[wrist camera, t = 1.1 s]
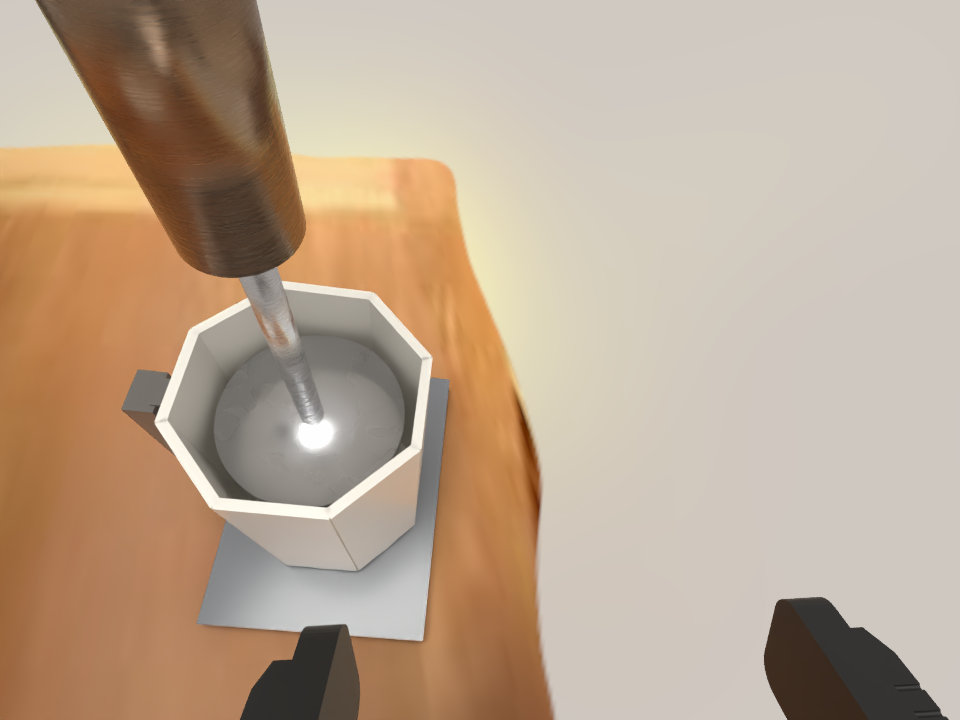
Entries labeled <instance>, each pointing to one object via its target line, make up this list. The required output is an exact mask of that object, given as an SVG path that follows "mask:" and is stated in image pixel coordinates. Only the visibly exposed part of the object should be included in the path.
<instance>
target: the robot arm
mask: <svg viewBox="0 0 960 720" xmlns="http://www.w3.org/2000/svg"><path fill="white" fill-rule="evenodd" d="M764 665H765V671H766V675H767V679H768V682H769V685H770V687H771V690H772V692H773V693H774V695H775V697H776V699H777V701H778V703H779V705H780V707H781V709H782V711H783V712H784V714H785V716H786V718H787V720H948V718H947V717H943V716H942V714H941V712H940V708H939V707H938V706H937V705H936V703H935V702H934V701H933V700H932V699H931V697H930V696H929V695H928V693H927V692H926V691H925V690H922V689H921V688H920V684H919V682H918V681H917V680H916V679H915V677H914V676H913V675H912V674H911V672H910V671H909V670H908V668H907V667H906V666H905V665H904V664H903V662H902V661H901V660H900V658H898V656H897V655H896V654H895V653H894V652H893V651H892V650H891V649H889V648H888V647H887V646H886V645H884V644H883V643H882V642H881V641H879V640H878V639H877V638H876V637H874V636H873V635H872V634H870V633H869V632H868V631H867V630H865V629H864V628H863V627H860V628H850V627H849V626H848V624H847V623H846V622H845V620H844V619H843V618H842V616H841V615H840V614H839V612H838V611H837V610H836V608H835V607H834V606H833V605H832V603H830V602H829V601H828V600H827V599H825V598H823V597H812V598H795V599H781V600H779V601H778V602H777V603H776V606H775V610H774V614H773V619H772V623H771V627H770V631H769V635H768V640H767V644H766V648H765V653H764ZM359 701H360V682H359V675H358V670H357V666H356V661H355V656H354V652H353V647H352V643H351V638H350V634H349V629H348V627H347V625H346V624H334V625H318V626H306V627H305V628H304V629H303V630H302V632H301V634H300V637H299V640H298V643H297V647H296V650H295V653H294V656H293V659H292V660H279V661H273V662H272V663H271V664H270V666H269V667H268V668H267V670H266V671H265V672H264V674H263V675H262V676H261V677H260V679H259V680H258V681H257V683H256V684H255V685H254V687H253V688H252V689H251V692H250V694H249V697H248V700H247V702H246V705H245V708H244V710H243V713H242V716H241V718H240V720H357V718H358V711H359Z"/></svg>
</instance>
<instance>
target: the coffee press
mask: <svg viewBox="0 0 960 720" xmlns="http://www.w3.org/2000/svg"><path fill="white" fill-rule="evenodd" d="M282 284H283V287H284V290H285V293H286V296H287V299H288V302H289V305H290V309H291V312H292V315H293V318H294V321H295V324H296V327H297V330H298V333H299V336H300V337H301V336H308V335H327V336H335V337H340V338H344V339H348V340H351V341H354V342H356V343H358V344H360V345H363V346H364V347H366V348H368V349H369V350H371V351H372V352H374V353H375V354H376V355H378V356H379V357H380V358H381V359H382V360H383V361H384V362H385V363H386V364H387V365H388V367H389V368H390V369H391V371H392V372H393V374H394V375H395V377H396V379H397V381H398V383H399V386H400V388H401V391H402V395H403V400H404V409H405V423H404V433H403V437H402V442H401V444H400V447H399V450H398V452H397V454H396V456H395V457H394V458H393V459H392V460H390V461H389V462H388V463H386V464H385V465H384V466H382V467H381V468H380V469H378V470H377V471H376V472H374V473H373V474H372V475H370V476H369V477H368V478H366V479H365V480H364V481H362V482H361V483H360V484H358V485H357V486H356V487H354V488H353V489H352V490H350V491H349V492H348V493H346V494H345V495H344V496H342V497H341V498H340V499H338V500H337V501H336V502H334V503H333V504H332V505H330V506H329V507H328V508H324V507H313V506H303V505H292V504H281V503H270V502H262V501H260V500H258V499H256V498H255V497H253V496H252V495H250V494H249V493H248V492H247V491H245V490H244V489H243V488H242V487H241V486H240V485H239V484H238V483H237V482H236V481H235V480H234V479H233V478H232V476H231V475H230V474H229V473H228V471H227V470H226V468H225V467H224V465H223V463H222V461H221V459H220V457H219V454H218V451H217V448H216V443H215V439H214V420H215V413H216V409H217V405H218V402H219V400H220V397H221V395H222V392H223V391H224V389H225V387H226V385H227V384H228V382H229V381H230V379H231V378H232V377H233V375H234V374H235V373H236V372H237V371H238V370H239V369H240V367H241V366H242V365H243V364H245V363H246V362H247V361H248V360H249V359H251V358H252V357H253V356H255V355H256V354H258V353H259V352H261V351H262V350H264V349H266V348H268V347H269V345H268V343H267V341H266V339H265V336H264V334H263V332H262V330H261V327H260V325H259V323H258V320H257V318H256V316H255V314H254V311H253V309H252V307H251V304H250V302H249V300H248V298H246V299H244V300H242V301H241V302H239V303H237V304H235V305H233V306H231V307H229V308H228V309H226V310H224V311H222V312H220V313H218V314H216V315H215V316H213V317H211V318H209V319H207V320H205V321H203V322H201V323H200V324H198V325H196V326H194V327H192V328H191V330H189V332H188V334H187V337H186V340H185V342H184V345H183V348H182V350H181V353H180V355H179V358H178V361H177V363H176V366H175V369H174V371H173V374H172V376H170V375H169V374H168V373H165V372H156V371H147V370H137V373H136V375H135V377H134V380H133V382H132V385H131V387H130V389H129V392H128V394H127V397H126V399H125V401H124V404H123V406H122V409H121V410H122V411H123V412H125V413H126V414H127V415H128V416H129V417H130V418H132V419H133V420H134V421H135V422H136V423H137V424H139V425H140V426H141V427H142V428H143V429H144V430H146V431H147V432H148V433H149V434H150V435H151V436H152V437H154V438H155V439H156V440H157V441H158V442H159V443H161V444H162V445H163V446H164V447H165V448H166V449H168V450H169V451H170V452H171V453H172V454H173V455H175V456H176V457H177V459H178V460H179V462H180V463H181V465H182V466H183V468H184V469H185V471H186V472H187V474H188V475H189V477H190V478H191V480H192V481H193V483H194V484H195V486H196V487H197V489H198V490H199V492H200V493H201V495H202V497H203V498H204V500H205V501H206V503H207V504H208V506H209V507H210V508H211V509H212V510H213V511H215V512H216V513H217V514H219V515H220V516H221V517H223V518H224V519H225V520H226V522H225V526H224V529H223V533H222V536H221V540H220V543H219V547H218V550H217V554H216V557H215V561H214V564H213V568H212V571H211V575H210V578H209V582H208V585H207V589H206V592H205V596H204V599H203V603H202V606H201V610H200V613H199V617H198V620H197V624H200V625H209V626H223V627H236V628H249V629H262V630H276V631H289V632H302V630H303V629H304V628H305V627H306V626H318V625H334V624H346V625H347V627H348V629H349V634H350V636H356V637H369V638H382V639H396V640H409V641H423V636H424V626H425V616H426V606H427V596H428V587H429V577H430V567H431V557H432V547H433V538H434V528H435V518H436V508H437V498H438V489H439V479H440V469H441V459H442V449H443V440H444V430H445V420H446V410H447V400H448V391H449V381H450V380H447V379H438V378H431V368H432V356H431V355H430V354H429V353H428V352H427V350H426V349H425V348H424V347H423V346H422V345H421V344H420V343H419V342H418V340H417V339H416V338H415V337H414V336H413V335H412V334H411V333H410V332H409V330H408V329H407V328H406V327H405V326H404V325H403V324H402V323H401V322H400V320H399V319H398V318H397V317H396V316H395V315H394V314H393V313H392V312H391V310H390V309H389V308H388V307H387V306H386V305H385V304H384V303H383V302H382V301H381V299H380V298H379V297H378V296H377V295H376V294H375V293H374V294H373V292H367V291H359V290H351V289H343V288H335V287H327V286H319V285H311V284H303V283H295V282H287V281H282Z"/></svg>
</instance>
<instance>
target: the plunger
mask: <svg viewBox="0 0 960 720" xmlns="http://www.w3.org/2000/svg"><path fill="white" fill-rule="evenodd" d="M36 2H37V4H38V6H39V8H40V9H41V11H42V13H43V15H44V16H45V18H46V20H47V22H48V23H49V25H50V27H51V29H52V30H53V32H54V34H55V36H56V38H57V40H58V41H59V43H60V45H61V47H62V48H63V50H64V52H65V54H66V55H67V57H68V59H69V61H70V63H71V64H72V66H73V68H74V70H75V71H76V73H77V75H78V77H79V78H80V80H81V82H82V84H83V86H84V87H85V89H86V91H87V93H88V94H89V96H90V98H91V100H92V102H93V103H94V105H95V107H96V109H97V110H98V112H99V114H100V116H101V117H102V119H103V121H104V123H105V124H106V126H107V128H108V130H109V132H110V134H111V135H112V137H113V139H114V141H115V142H116V144H117V146H118V148H119V149H120V151H121V153H122V155H123V157H124V158H125V160H126V162H127V164H128V165H129V167H130V169H131V171H132V173H133V174H134V176H135V178H136V180H137V181H138V183H139V185H140V187H141V188H142V190H143V192H144V194H145V196H146V197H147V199H148V201H149V203H150V204H151V206H152V208H153V210H154V212H155V213H156V215H157V217H158V219H159V220H160V222H161V224H162V226H163V227H164V229H165V231H166V233H167V235H168V236H169V238H170V240H171V242H172V243H173V245H174V247H175V249H176V250H177V252H178V254H179V255H180V256H181V258H182V259H183V260H184V261H185V262H187V263H188V264H189V265H190V266H192V267H193V268H195V269H197V270H199V271H201V272H204V273H206V274H210V275H213V276H218V277H227V278H239V279H240V282H241V284H242V286H243V288H244V291H245V293H246V295H247V298H248V300H249V302H250V304H251V307H252V309H253V311H254V314H255V316H256V318H257V320H258V323H259V325H260V327H261V330H262V332H263V334H264V336H265V339H266V341H267V343H268V345H269V347H268V348H266V349H264V350H262V351H261V352H259V353H258V354H256V355H255V356H253V357H252V358H251V359H249V360H248V361H247V362H246V363H245V364H243V365H242V366H241V367H240V369H239V370H238V371H237V372H236V373H235V374H234V375H233V377H232V378H231V379H230V381H229V382H228V384H227V385H226V387H225V389H224V391H223V392H222V395H221V397H220V400H219V402H218V405H217V409H216V413H215V420H214V439H215V443H216V448H217V451H218V454H219V457H220V459H221V461H222V463H223V465H224V467H225V468H226V470H227V471H228V473H229V474H230V475H231V476H232V478H233V479H234V480H235V481H236V482H237V483H238V484H239V485H240V486H241V487H242V488H243V489H244V490H245V491H247V492H248V493H249V494H250V495H252V496H253V497H255V498H256V499H258V500H260V501H262V502H270V503H281V504H292V505H303V506H313V507H324V508H328V507H329V506H330V505H332V504H333V503H334V502H336V501H337V500H338V499H340V498H341V497H342V496H344V495H345V494H346V493H348V492H349V491H350V490H352V489H353V488H354V487H356V486H357V485H358V484H360V483H361V482H362V481H364V480H365V479H366V478H368V477H369V476H370V475H372V474H373V473H374V472H376V471H377V470H378V469H380V468H381V467H382V466H384V465H385V464H386V463H388V462H389V461H390V460H392V459H393V458H394V457H395V456H396V454H397V452H398V450H399V447H400V444H401V442H402V437H403V433H404V423H405V409H404V400H403V395H402V391H401V388H400V386H399V383H398V381H397V379H396V377H395V375H394V374H393V372H392V371H391V369H390V368H389V367H388V365H387V364H386V363H385V362H384V361H383V360H382V359H381V358H380V357H379V356H378V355H376V354H375V353H374V352H372V351H371V350H369V349H368V348H366V347H364V346H363V345H360V344H358V343H356V342H354V341H351V340H348V339H344V338H340V337H335V336H327V335H308V336H301V337H300V336H299V333H298V330H297V327H296V324H295V321H294V318H293V315H292V312H291V309H290V305H289V302H288V299H287V296H286V293H285V290H284V287H283V284H282V281H281V278H280V275H279V272H278V269H277V266H279V265H281V264H282V263H284V262H285V261H286V260H288V259H289V258H290V257H291V256H292V255H293V254H294V253H295V252H296V250H297V249H298V248H299V246H300V244H301V243H302V241H303V238H304V235H305V231H306V220H305V214H304V210H303V205H302V201H301V197H300V192H299V188H298V183H297V179H296V174H295V170H294V166H293V161H292V157H291V152H290V148H289V144H288V139H287V134H286V130H285V126H284V121H283V117H282V112H281V108H280V104H279V99H278V95H277V90H276V86H275V82H274V77H273V72H272V68H271V64H270V59H269V55H268V51H267V46H266V41H265V37H264V33H263V28H262V24H261V19H260V15H259V10H258V6H257V1H256V0H36Z"/></svg>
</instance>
